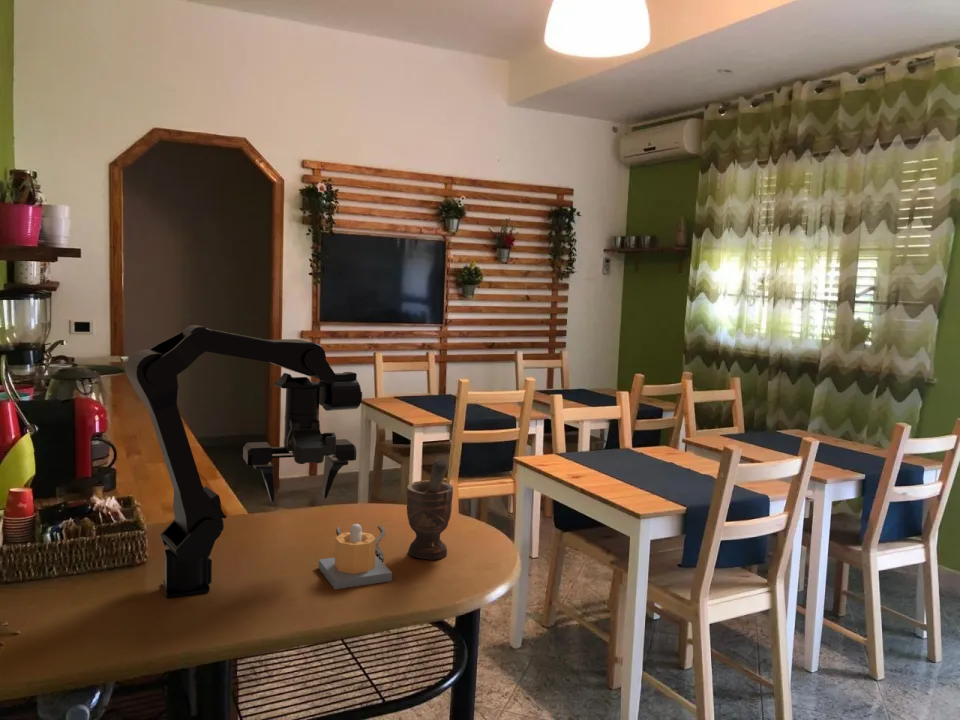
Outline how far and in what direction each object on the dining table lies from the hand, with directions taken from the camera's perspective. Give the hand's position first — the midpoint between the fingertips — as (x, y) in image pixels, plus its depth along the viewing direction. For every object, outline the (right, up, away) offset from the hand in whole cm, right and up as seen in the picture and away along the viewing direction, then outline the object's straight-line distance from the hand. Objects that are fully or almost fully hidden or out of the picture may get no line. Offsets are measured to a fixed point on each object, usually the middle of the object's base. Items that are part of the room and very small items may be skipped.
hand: (298, 499), depth 133 cm
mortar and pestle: (+23, -12, +8) cm, 27 cm away
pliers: (+11, -12, +14) cm, 21 cm away
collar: (+10, -11, -2) cm, 15 cm away
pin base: (+10, -13, -2) cm, 16 cm away
